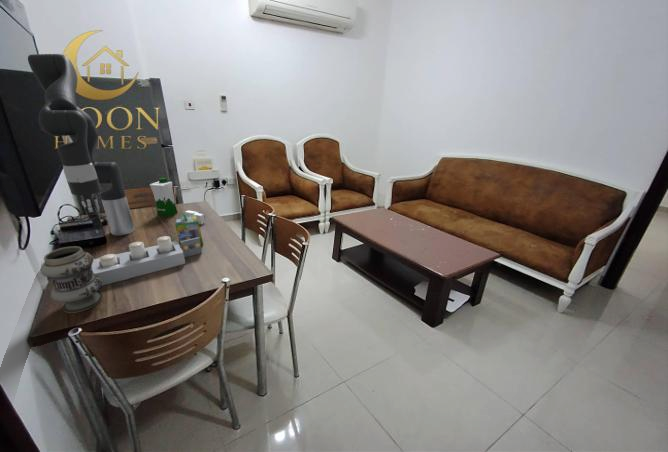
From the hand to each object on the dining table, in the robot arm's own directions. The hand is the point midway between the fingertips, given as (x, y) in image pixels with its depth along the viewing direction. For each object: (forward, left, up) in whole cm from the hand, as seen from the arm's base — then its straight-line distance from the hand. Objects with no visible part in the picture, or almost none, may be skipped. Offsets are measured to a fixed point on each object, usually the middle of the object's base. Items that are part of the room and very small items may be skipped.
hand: (98, 228), depth 99 cm
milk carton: (-56, +26, -19) cm, 64 cm away
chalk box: (-12, +29, -19) cm, 36 cm away
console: (0, +9, -19) cm, 20 cm away
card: (0, +27, -19) cm, 33 cm away
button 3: (0, +18, -14) cm, 23 cm away
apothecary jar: (+14, -8, -19) cm, 25 cm away
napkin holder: (-37, +36, -19) cm, 55 cm away
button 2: (0, +9, -14) cm, 16 cm away
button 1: (0, 0, -16) cm, 16 cm away
